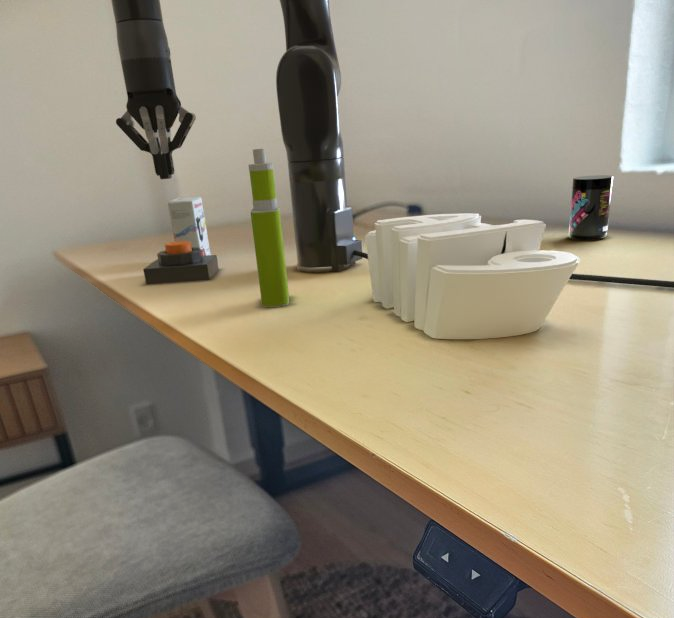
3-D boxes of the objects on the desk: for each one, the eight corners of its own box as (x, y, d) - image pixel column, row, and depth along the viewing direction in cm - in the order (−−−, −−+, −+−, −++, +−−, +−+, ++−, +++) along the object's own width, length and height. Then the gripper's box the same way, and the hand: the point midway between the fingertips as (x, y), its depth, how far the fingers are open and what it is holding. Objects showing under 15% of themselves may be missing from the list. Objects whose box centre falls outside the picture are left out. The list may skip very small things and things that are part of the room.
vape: (289, 296, 97) (273, 147, 88) (288, 305, 91) (271, 148, 83) (264, 298, 97) (246, 149, 88) (261, 308, 91) (241, 151, 83)
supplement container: (573, 234, 125) (578, 175, 121) (611, 235, 122) (617, 174, 117) (563, 240, 120) (568, 179, 116) (601, 241, 117) (608, 178, 112)
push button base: (218, 269, 120) (215, 244, 118) (209, 280, 112) (205, 253, 110) (159, 274, 120) (154, 249, 118) (146, 284, 112) (140, 258, 110)
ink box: (203, 265, 125) (192, 200, 120) (178, 267, 125) (166, 202, 120) (211, 257, 132) (202, 195, 127) (188, 259, 133) (177, 197, 127)
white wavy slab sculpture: (356, 288, 98) (352, 214, 93) (460, 275, 101) (461, 202, 96) (445, 357, 67) (445, 251, 62) (591, 335, 70) (601, 232, 65)
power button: (194, 250, 116) (192, 240, 115) (189, 254, 112) (187, 244, 111) (170, 252, 116) (168, 241, 115) (163, 256, 112) (161, 246, 112)
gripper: (95, 59, 98) (120, 183, 106) (182, 51, 97) (201, 177, 105) (111, 63, 105) (133, 180, 112) (192, 56, 104) (209, 174, 112)
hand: (166, 178), depth 109 cm, fingers closed
